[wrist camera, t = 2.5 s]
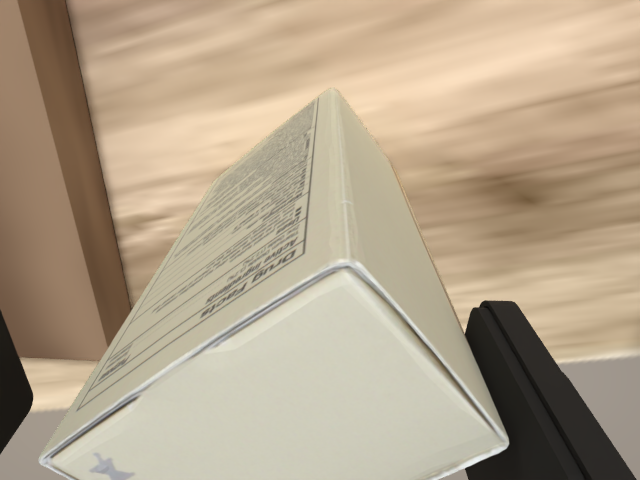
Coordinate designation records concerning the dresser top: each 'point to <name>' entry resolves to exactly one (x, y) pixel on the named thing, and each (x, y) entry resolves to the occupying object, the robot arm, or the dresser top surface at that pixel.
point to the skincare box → (289, 334)
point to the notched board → (52, 195)
